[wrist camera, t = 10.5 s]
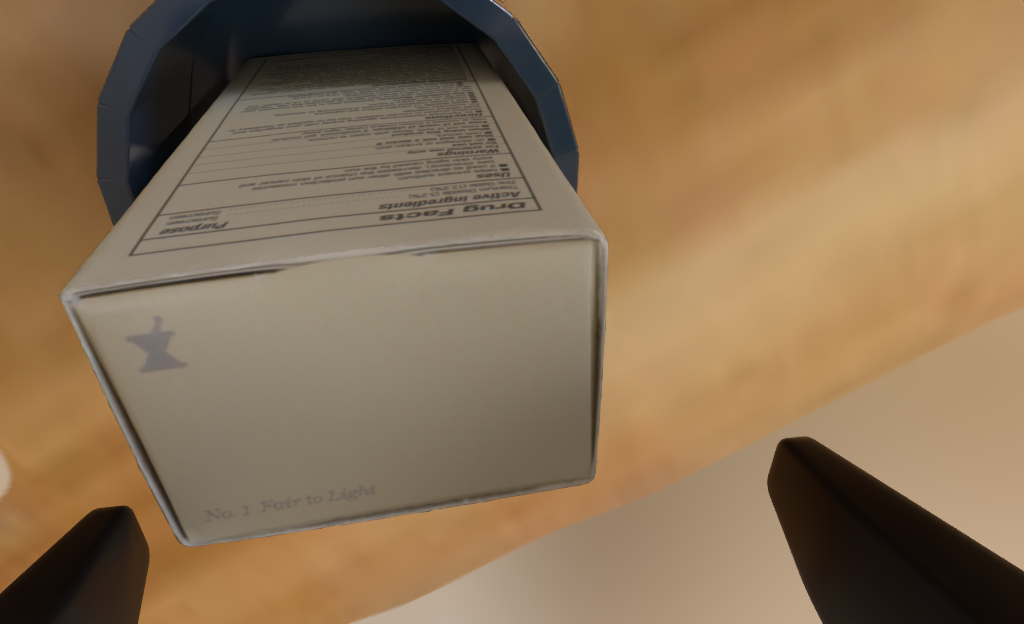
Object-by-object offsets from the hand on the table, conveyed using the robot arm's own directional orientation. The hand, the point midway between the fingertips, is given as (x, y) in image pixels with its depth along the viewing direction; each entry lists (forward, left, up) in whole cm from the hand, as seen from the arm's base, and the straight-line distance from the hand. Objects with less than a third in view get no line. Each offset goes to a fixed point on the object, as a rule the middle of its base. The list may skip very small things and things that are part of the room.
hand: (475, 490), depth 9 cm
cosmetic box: (+1, -1, -12) cm, 13 cm away
